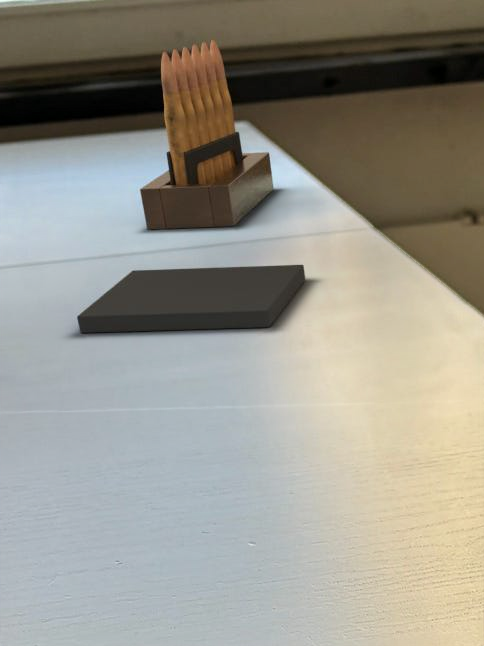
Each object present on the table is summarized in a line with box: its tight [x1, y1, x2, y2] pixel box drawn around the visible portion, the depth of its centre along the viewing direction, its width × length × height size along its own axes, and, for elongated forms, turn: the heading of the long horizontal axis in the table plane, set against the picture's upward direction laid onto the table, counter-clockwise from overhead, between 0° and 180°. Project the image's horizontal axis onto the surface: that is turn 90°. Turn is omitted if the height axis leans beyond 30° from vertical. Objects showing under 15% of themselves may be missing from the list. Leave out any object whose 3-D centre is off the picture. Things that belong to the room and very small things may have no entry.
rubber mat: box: [76, 264, 306, 334], centre depth 88 cm, size 12×12×1 cm
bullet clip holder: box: [139, 151, 275, 230], centre depth 114 cm, size 7×16×3 cm, turn 175°
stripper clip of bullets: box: [160, 39, 243, 185], centre depth 112 cm, size 11×2×12 cm, turn 164°
